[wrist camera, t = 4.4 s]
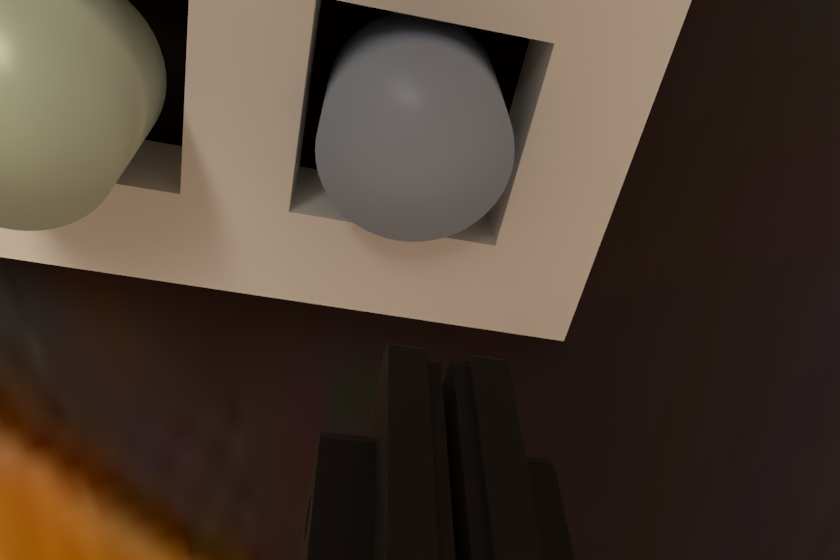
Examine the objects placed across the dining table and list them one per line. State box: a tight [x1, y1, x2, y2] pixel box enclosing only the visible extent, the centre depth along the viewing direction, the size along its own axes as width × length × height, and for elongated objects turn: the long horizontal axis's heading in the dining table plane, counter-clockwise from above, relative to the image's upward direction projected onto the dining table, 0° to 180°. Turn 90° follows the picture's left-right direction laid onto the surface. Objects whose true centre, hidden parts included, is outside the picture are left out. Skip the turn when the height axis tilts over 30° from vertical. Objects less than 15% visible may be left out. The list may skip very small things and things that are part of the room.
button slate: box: [315, 13, 515, 242], centre depth 22 cm, size 5×5×4 cm
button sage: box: [0, 0, 167, 231], centre depth 19 cm, size 5×5×4 cm
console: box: [0, 0, 692, 341], centre depth 21 cm, size 12×30×3 cm, turn 79°
